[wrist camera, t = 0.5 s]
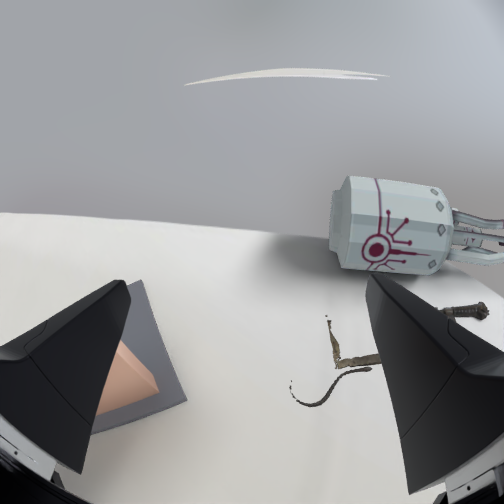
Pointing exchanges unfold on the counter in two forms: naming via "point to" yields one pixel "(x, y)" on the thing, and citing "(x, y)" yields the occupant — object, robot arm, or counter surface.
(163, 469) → the counter surface
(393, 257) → the device
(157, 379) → the mat
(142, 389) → the tile
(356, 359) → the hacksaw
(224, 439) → the counter surface
